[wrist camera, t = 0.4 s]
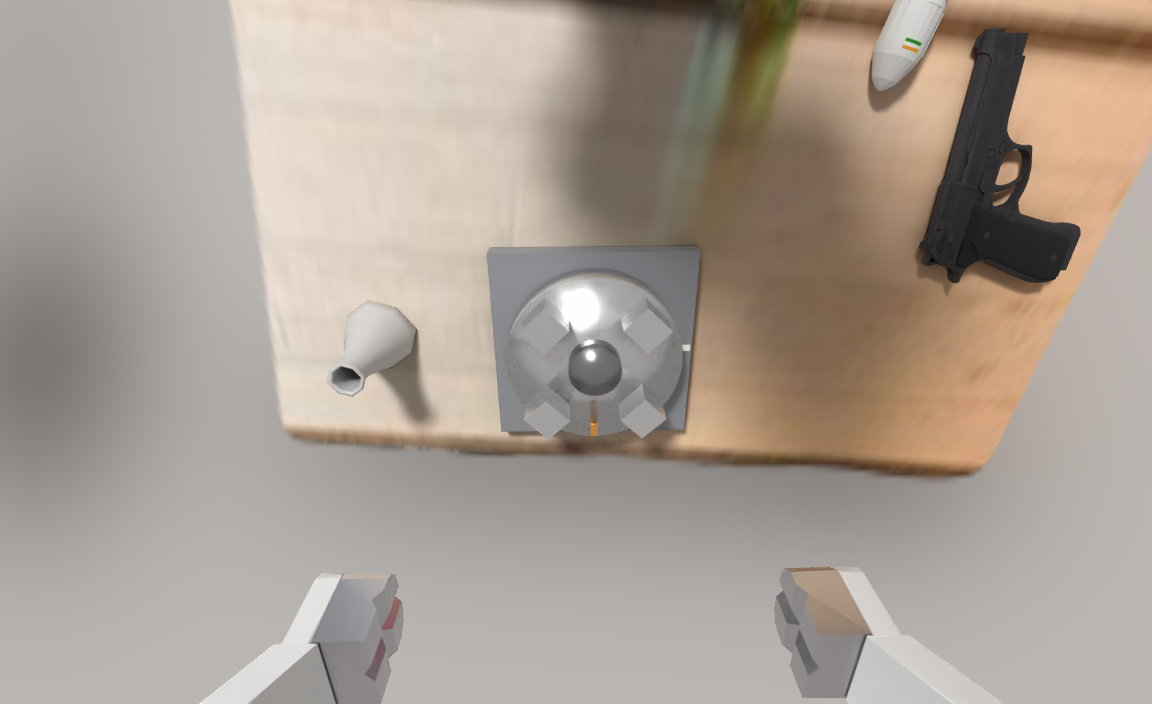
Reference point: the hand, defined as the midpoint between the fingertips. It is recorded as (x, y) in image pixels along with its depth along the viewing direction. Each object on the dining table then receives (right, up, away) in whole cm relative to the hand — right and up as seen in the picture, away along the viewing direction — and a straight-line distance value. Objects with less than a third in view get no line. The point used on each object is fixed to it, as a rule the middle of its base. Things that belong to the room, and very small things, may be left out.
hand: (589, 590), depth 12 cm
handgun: (+40, +22, +39) cm, 60 cm away
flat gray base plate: (+1, +6, +46) cm, 46 cm away
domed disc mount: (+2, +5, +44) cm, 45 cm away
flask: (-21, +7, +46) cm, 51 cm away
